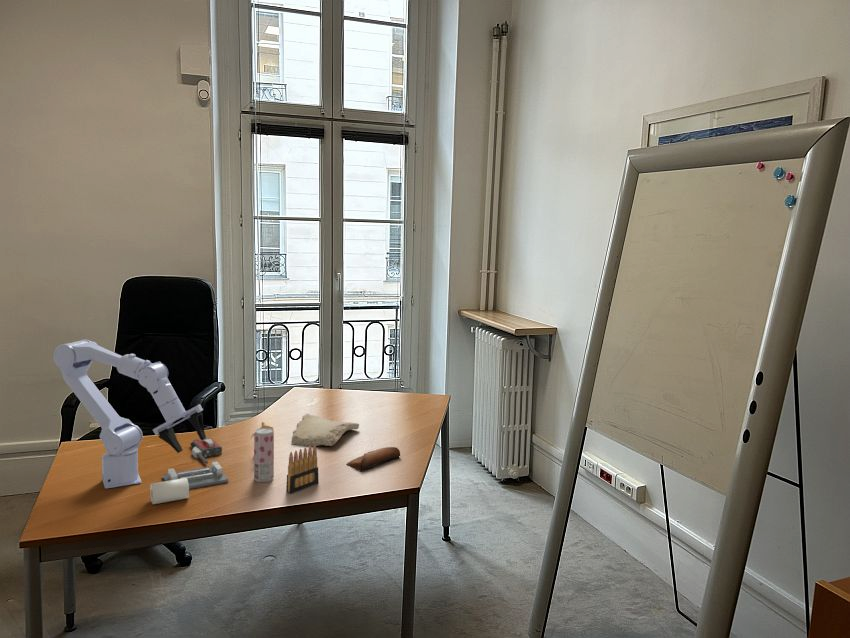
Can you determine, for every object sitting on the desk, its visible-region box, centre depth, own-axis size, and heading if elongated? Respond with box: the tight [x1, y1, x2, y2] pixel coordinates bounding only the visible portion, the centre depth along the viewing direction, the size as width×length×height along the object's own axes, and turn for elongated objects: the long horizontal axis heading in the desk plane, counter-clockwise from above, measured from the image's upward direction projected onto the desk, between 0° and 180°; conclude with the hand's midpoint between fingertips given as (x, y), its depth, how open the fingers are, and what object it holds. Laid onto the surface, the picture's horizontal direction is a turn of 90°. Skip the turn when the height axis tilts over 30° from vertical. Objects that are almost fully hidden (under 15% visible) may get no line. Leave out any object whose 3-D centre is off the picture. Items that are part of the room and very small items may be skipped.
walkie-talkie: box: [190, 436, 223, 465], centre depth 207 cm, size 9×4×20 cm
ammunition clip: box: [285, 444, 320, 494], centre depth 183 cm, size 11×2×12 cm, turn 141°
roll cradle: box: [162, 461, 229, 490], centre depth 186 cm, size 16×12×4 cm
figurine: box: [250, 421, 275, 439], centre depth 206 cm, size 8×6×12 cm
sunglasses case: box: [345, 446, 401, 472], centre depth 206 cm, size 18×7×7 cm
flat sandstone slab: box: [291, 413, 360, 447], centre depth 229 cm, size 24×8×20 cm
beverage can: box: [253, 427, 275, 483], centre depth 188 cm, size 6×6×15 cm
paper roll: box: [149, 478, 190, 505], centre depth 172 cm, size 9×6×6 cm, turn 122°
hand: (192, 445), depth 177 cm, fingers open, 7 cm apart
